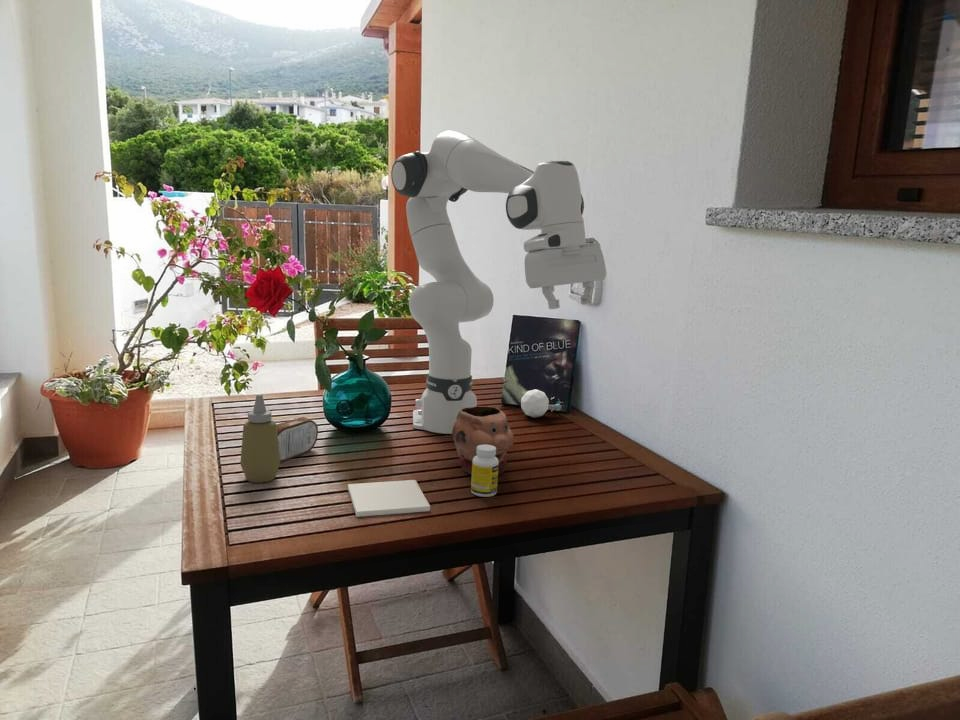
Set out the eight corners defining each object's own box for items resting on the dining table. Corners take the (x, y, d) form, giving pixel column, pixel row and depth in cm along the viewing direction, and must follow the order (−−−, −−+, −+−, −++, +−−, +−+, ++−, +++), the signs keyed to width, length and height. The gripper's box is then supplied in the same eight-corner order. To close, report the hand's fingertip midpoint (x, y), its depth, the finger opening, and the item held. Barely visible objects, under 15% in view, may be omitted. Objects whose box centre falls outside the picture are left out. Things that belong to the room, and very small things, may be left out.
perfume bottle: (515, 399, 210) (553, 403, 213) (518, 421, 204) (558, 425, 207) (523, 382, 204) (562, 386, 207) (527, 404, 199) (567, 409, 202)
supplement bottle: (494, 499, 145) (496, 452, 143) (468, 495, 146) (470, 450, 144) (499, 489, 150) (501, 444, 148) (473, 486, 151) (475, 442, 149)
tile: (347, 488, 147) (347, 484, 146) (415, 484, 151) (415, 479, 150) (356, 516, 133) (356, 511, 133) (429, 511, 138) (430, 506, 137)
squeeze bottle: (242, 487, 145) (240, 401, 141) (238, 473, 152) (236, 391, 148) (283, 483, 148) (282, 398, 144) (277, 469, 155) (276, 389, 152)
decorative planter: (431, 459, 166) (433, 401, 163) (473, 451, 173) (476, 395, 170) (483, 487, 150) (486, 424, 148) (527, 477, 158) (531, 416, 155)
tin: (310, 446, 171) (310, 412, 170) (320, 449, 170) (320, 415, 168) (262, 464, 159) (262, 427, 157) (273, 467, 157) (272, 430, 155)
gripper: (587, 239, 156) (594, 302, 158) (517, 243, 144) (524, 312, 145) (609, 235, 151) (616, 300, 153) (538, 239, 139) (545, 310, 140)
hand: (570, 306), depth 149 cm, fingers open, 8 cm apart
